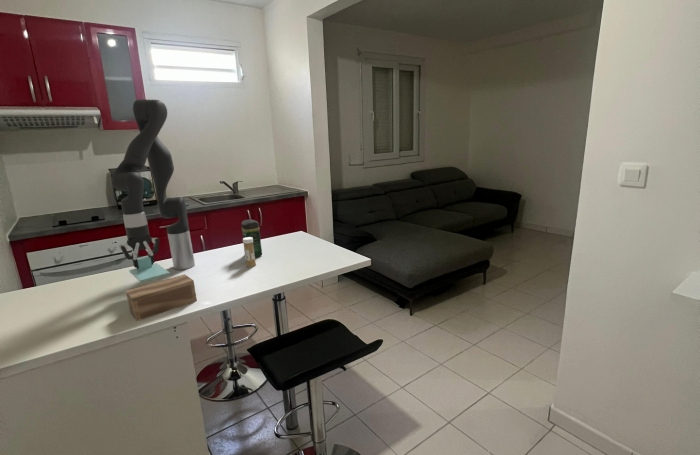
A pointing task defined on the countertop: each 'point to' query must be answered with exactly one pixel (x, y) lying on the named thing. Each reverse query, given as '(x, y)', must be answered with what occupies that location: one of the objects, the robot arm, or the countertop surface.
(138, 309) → the brown wooden block
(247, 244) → the sprinkles bottle
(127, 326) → the countertop surface
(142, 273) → the cover plate
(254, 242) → the coffee jar
